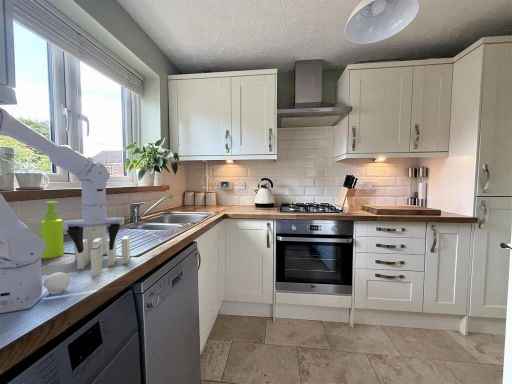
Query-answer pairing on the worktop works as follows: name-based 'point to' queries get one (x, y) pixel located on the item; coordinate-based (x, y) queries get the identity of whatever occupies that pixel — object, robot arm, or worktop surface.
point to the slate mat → (73, 267)
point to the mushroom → (56, 283)
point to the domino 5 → (125, 250)
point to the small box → (91, 235)
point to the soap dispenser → (52, 232)
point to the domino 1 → (83, 255)
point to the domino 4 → (111, 253)
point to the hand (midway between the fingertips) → (96, 250)
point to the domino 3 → (96, 259)
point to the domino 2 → (98, 241)
